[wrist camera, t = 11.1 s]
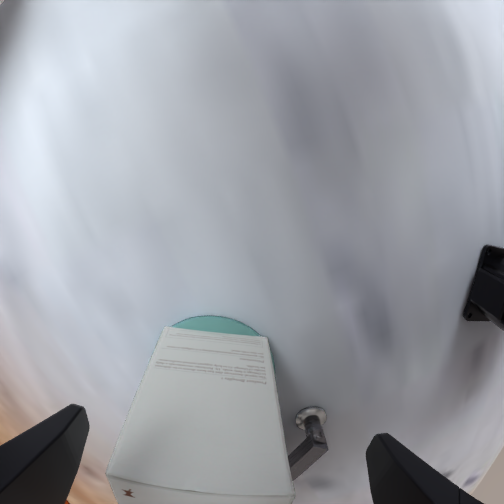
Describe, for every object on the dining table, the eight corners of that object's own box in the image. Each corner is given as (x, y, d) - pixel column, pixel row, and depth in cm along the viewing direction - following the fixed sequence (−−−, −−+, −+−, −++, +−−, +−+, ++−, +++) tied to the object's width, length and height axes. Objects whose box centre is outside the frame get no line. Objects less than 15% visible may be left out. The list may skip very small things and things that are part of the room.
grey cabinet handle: (329, 406, 24) (340, 441, 20) (303, 467, 26) (309, 498, 22) (236, 402, 23) (235, 439, 19) (226, 464, 26) (225, 497, 22)
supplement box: (164, 401, 22) (128, 537, 10) (163, 322, 21) (99, 473, 8) (257, 412, 23) (266, 553, 11) (272, 335, 21) (298, 497, 9)
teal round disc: (284, 323, 21) (285, 326, 21) (264, 415, 24) (264, 419, 23) (153, 307, 21) (151, 310, 20) (155, 402, 23) (154, 406, 23)
